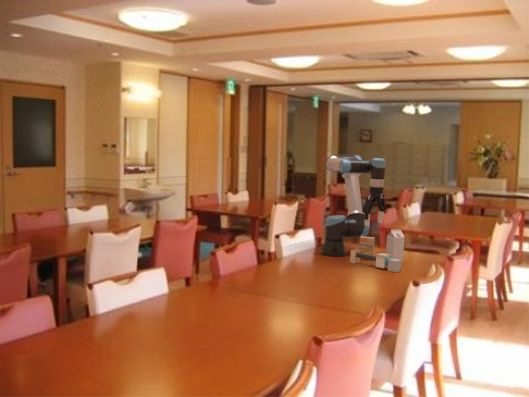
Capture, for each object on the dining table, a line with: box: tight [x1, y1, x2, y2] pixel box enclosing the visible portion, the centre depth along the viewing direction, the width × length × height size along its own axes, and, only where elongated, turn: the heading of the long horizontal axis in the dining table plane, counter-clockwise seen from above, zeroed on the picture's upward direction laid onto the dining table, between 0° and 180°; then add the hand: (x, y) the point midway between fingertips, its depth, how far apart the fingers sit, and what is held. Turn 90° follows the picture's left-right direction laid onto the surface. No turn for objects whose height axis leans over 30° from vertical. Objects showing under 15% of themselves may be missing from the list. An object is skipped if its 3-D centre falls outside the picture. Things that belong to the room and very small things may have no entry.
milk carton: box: [385, 228, 405, 263], centre depth 328 cm, size 7×7×19 cm
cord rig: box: [349, 249, 402, 273], centre depth 312 cm, size 30×5×7 cm, turn 46°
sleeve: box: [375, 252, 391, 269], centre depth 308 cm, size 5×6×7 cm
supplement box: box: [358, 236, 376, 261], centre depth 332 cm, size 8×5×13 cm, turn 73°
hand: (373, 224), depth 316 cm, fingers open, 13 cm apart
